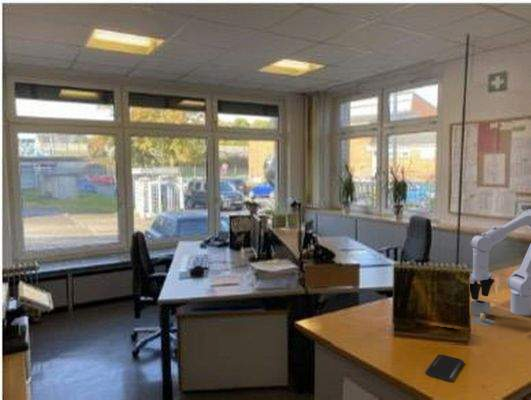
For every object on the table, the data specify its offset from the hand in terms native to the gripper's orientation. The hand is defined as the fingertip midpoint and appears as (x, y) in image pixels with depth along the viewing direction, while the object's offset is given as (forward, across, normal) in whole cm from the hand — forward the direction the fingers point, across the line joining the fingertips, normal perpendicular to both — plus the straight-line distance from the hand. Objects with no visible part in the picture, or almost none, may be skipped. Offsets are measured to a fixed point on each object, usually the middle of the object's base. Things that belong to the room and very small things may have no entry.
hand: (480, 297), depth 169 cm
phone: (+9, +50, +17) cm, 54 cm away
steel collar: (+7, 0, 0) cm, 7 cm away
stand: (+8, 0, 0) cm, 8 cm away
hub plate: (+8, +7, +5) cm, 12 cm away
